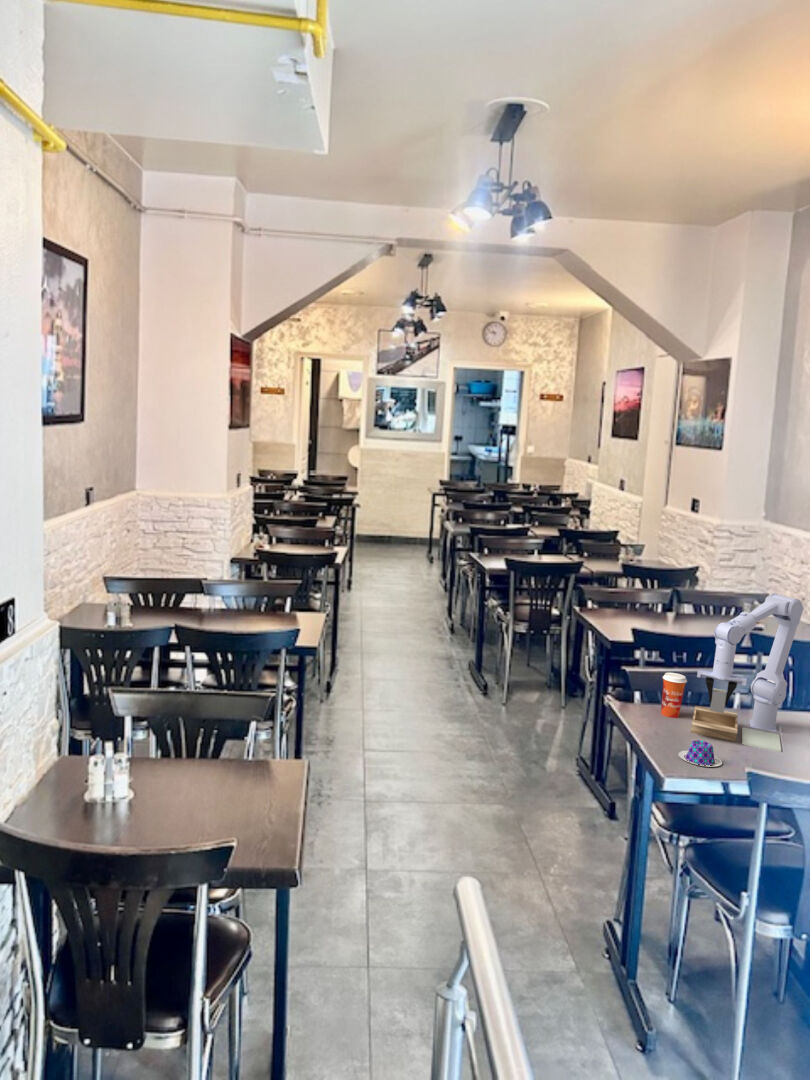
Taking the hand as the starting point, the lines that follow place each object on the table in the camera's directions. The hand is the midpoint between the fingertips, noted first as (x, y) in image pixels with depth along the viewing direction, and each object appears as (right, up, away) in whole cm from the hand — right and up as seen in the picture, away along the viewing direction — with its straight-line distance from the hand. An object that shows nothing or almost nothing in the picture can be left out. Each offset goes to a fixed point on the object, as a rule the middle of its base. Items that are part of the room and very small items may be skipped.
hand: (718, 702), depth 273 cm
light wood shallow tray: (-1, -10, +2) cm, 10 cm away
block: (0, -2, +1) cm, 2 cm away
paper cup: (-11, -7, +14) cm, 19 cm away
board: (+12, -12, -3) cm, 17 cm away
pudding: (-14, -12, -24) cm, 30 cm away
